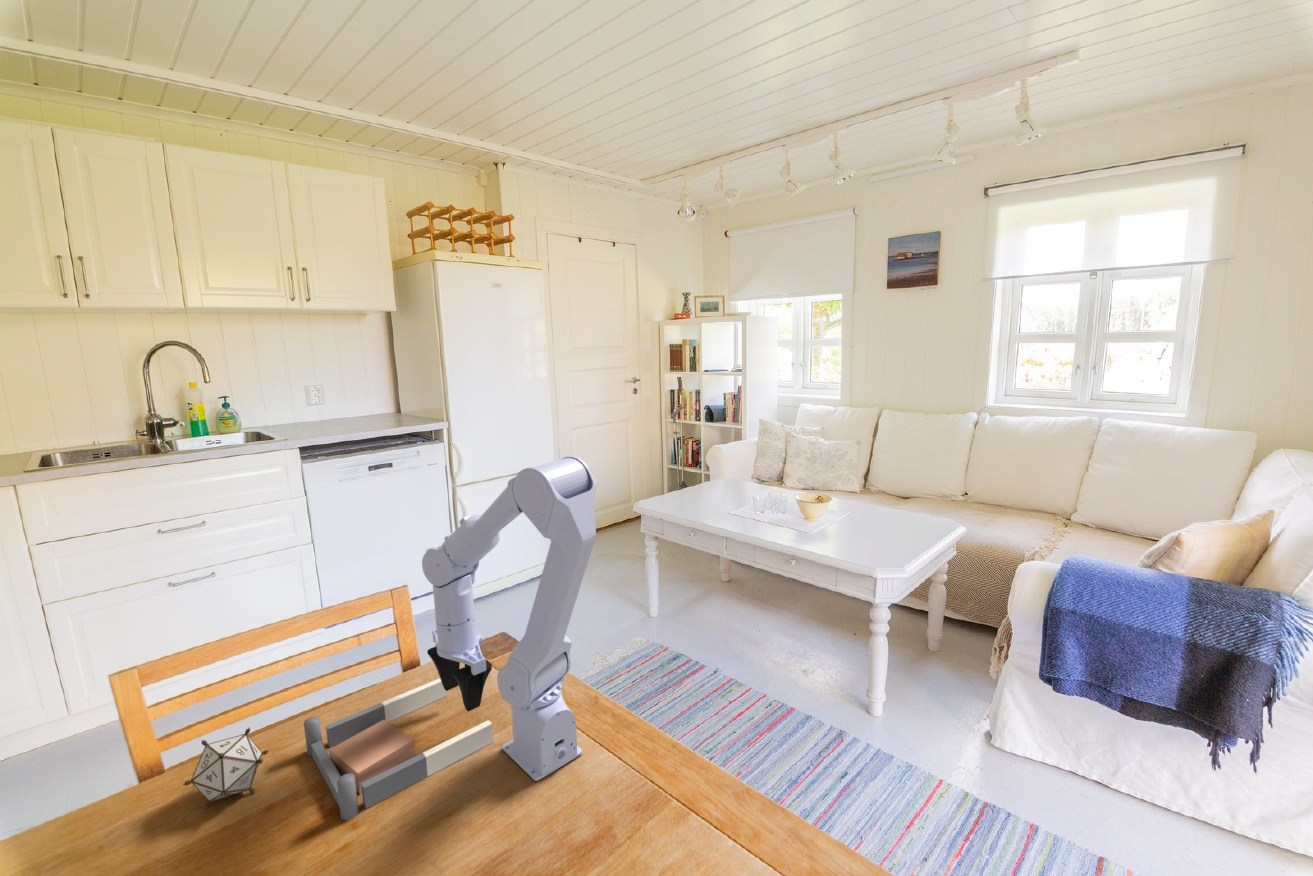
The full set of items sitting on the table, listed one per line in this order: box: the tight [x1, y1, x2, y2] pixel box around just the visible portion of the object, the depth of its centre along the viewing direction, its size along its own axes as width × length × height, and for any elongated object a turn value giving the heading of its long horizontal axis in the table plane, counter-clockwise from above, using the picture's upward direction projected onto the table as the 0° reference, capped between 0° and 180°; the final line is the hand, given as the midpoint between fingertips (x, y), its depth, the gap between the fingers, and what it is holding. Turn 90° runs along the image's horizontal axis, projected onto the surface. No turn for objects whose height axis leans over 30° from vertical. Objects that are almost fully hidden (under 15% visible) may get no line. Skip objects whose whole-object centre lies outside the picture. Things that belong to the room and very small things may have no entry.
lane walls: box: [381, 677, 494, 777], centre depth 89 cm, size 17×10×3 cm, turn 44°
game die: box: [182, 726, 270, 810], centre depth 76 cm, size 9×8×10 cm
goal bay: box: [303, 701, 429, 822], centre depth 82 cm, size 18×11×5 cm, turn 44°
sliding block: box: [328, 720, 416, 796], centre depth 82 cm, size 8×8×4 cm
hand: (461, 697), depth 91 cm, fingers open, 7 cm apart
